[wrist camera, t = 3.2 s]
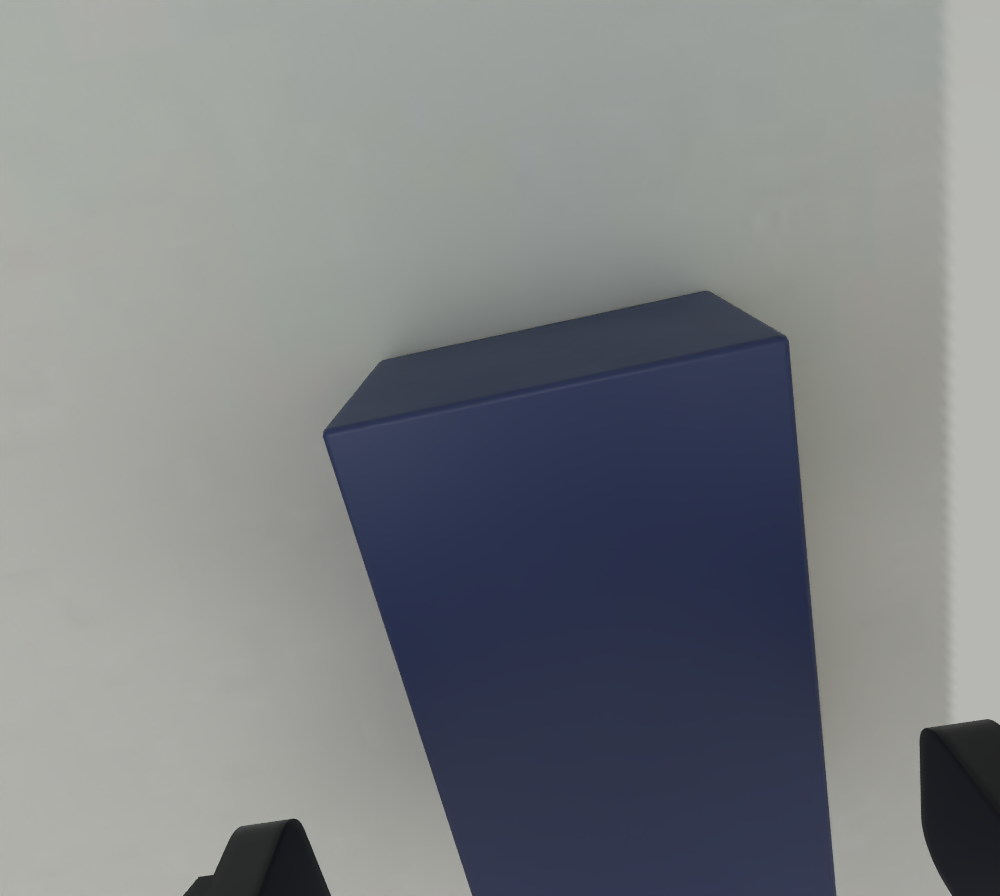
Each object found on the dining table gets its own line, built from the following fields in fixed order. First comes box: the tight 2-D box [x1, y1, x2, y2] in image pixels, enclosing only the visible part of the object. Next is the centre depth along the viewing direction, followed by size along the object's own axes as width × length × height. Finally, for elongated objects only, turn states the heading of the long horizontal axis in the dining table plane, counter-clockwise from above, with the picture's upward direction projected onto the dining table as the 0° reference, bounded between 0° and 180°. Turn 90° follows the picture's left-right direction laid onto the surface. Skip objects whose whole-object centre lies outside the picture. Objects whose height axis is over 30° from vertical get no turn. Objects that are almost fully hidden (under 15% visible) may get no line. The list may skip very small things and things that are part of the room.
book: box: [323, 291, 836, 896], centre depth 13 cm, size 6×11×4 cm, turn 13°
